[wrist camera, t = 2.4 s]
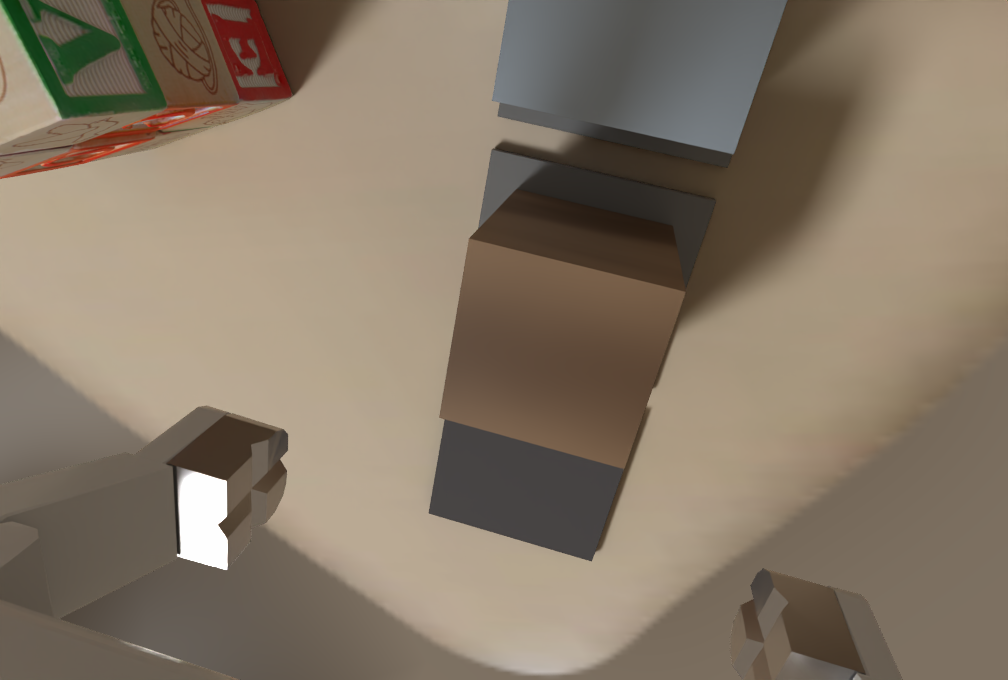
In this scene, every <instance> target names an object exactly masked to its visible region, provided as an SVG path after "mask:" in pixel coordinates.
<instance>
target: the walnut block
mask: <svg viewBox="0 0 1008 680" xmlns="http://www.w3.org/2000/svg"><path fill="white" fill-rule="evenodd" d="M685 293H686V289H685V284H684V279H683V274H682V269H681V264H680V259H679V254H678V249H677V244H676V239H675V234H674V229H673V226H672V225H667V224H663V223H659V222H655V221H651V220H646V219H642V218H638V217H634V216H629V215H625V214H621V213H617V212H612V211H608V210H604V209H600V208H595V207H591V206H587V205H583V204H578V203H574V202H570V201H566V200H561V199H557V198H553V197H549V196H545V195H540V194H536V193H532V192H528V191H523V190H519V189H516V190H515V191H514V192H513V193H512V194H511V195H510V196H509V197H508V198H507V199H506V200H505V201H504V202H503V204H502V205H501V206H500V207H499V208H498V209H497V210H496V211H495V212H494V213H493V214H492V215H491V216H490V217H489V218H488V219H487V220H486V221H485V222H484V223H483V225H482V226H481V227H480V228H479V229H478V230H477V231H476V232H475V233H474V234H473V235H472V236H471V237H470V238H469V242H468V248H467V254H466V260H465V266H464V272H463V278H462V284H461V290H460V296H459V302H458V308H457V314H456V320H455V326H454V332H453V338H452V344H451V350H450V356H449V362H448V368H447V374H446V380H445V386H444V392H443V398H442V404H441V410H440V416H439V418H442V419H446V420H449V421H453V422H456V423H460V424H464V425H467V426H471V427H474V428H478V429H482V430H485V431H489V432H492V433H496V434H500V435H503V436H507V437H510V438H514V439H518V440H521V441H525V442H528V443H532V444H536V445H539V446H543V447H546V448H550V449H554V450H557V451H561V452H564V453H568V454H572V455H575V456H579V457H582V458H586V459H590V460H593V461H597V462H600V463H604V464H608V465H611V466H615V467H618V468H622V469H625V466H626V463H627V460H628V457H629V455H630V452H631V449H632V446H633V443H634V440H635V437H636V434H637V432H638V429H639V426H640V423H641V420H642V417H643V414H644V411H645V409H646V406H647V403H648V400H649V397H650V394H651V391H652V388H653V385H654V383H655V380H656V377H657V374H658V371H659V368H660V365H661V362H662V360H663V357H664V354H665V351H666V348H667V345H668V342H669V339H670V337H671V334H672V331H673V328H674V325H675V322H676V319H677V316H678V314H679V311H680V308H681V305H682V302H683V299H684V296H685Z"/></svg>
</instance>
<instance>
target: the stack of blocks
mask: <svg viewBox="0 0 1008 680" xmlns="http://www.w3.org/2000/svg"><path fill="white" fill-rule="evenodd" d="M292 96H293V95H292V92H291V89H290V86H289V84H288V82H287V79H286V77H285V75H284V72H283V69H282V67H281V64H280V62H279V59H278V57H277V55H276V52H275V50H274V47H273V44H272V42H271V39H270V37H269V35H268V32H267V29H266V27H265V24H264V21H263V19H262V17H261V15H260V12H259V9H258V6H257V3H256V2H255V1H254V0H0V179H2V178H8V177H14V176H20V175H26V174H31V173H37V172H42V171H48V170H53V169H58V168H64V167H69V166H74V165H79V164H84V163H87V162H91V161H96V160H101V159H106V158H111V157H116V156H121V155H126V154H131V153H136V152H141V151H146V150H151V149H155V148H157V147H160V146H163V145H166V144H168V143H171V142H174V141H177V140H179V139H182V138H185V137H188V136H191V135H193V134H196V133H199V132H202V131H204V130H207V129H210V128H213V127H215V126H218V125H222V124H226V123H229V122H232V121H235V120H238V119H240V118H243V117H246V116H249V115H252V114H254V113H257V112H260V111H262V110H265V109H268V108H270V107H273V106H275V105H277V104H280V103H282V102H284V101H286V100H288V99H290V98H291V97H292Z"/></svg>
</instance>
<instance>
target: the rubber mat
mask: <svg viewBox="0 0 1008 680" xmlns="http://www.w3.org/2000/svg"><path fill="white" fill-rule="evenodd" d="M623 470H624V469H622V468H618V467H615V466H611V465H608V464H604V463H600V462H597V461H593V460H590V459H586V458H582V457H579V456H575V455H572V454H568V453H564V452H561V451H557V450H554V449H550V448H546V447H543V446H539V445H536V444H532V443H528V442H525V441H521V440H518V439H514V438H510V437H507V436H503V435H500V434H496V433H492V432H489V431H485V430H482V429H478V428H474V427H471V426H467V425H464V424H460V423H456V422H453V421H449V420H446V419H445V421H444V427H443V433H442V439H441V445H440V450H439V456H438V462H437V468H436V474H435V479H434V485H433V491H432V497H431V503H430V509H429V514H433V515H436V516H439V517H443V518H446V519H450V520H453V521H456V522H460V523H463V524H467V525H470V526H473V527H477V528H480V529H484V530H487V531H490V532H494V533H497V534H501V535H504V536H507V537H511V538H514V539H518V540H521V541H524V542H528V543H531V544H534V545H538V546H541V547H545V548H548V549H551V550H555V551H558V552H562V553H565V554H568V555H572V556H575V557H579V558H582V559H585V560H589V561H592V559H593V556H594V554H595V551H596V548H597V545H598V542H599V539H600V536H601V533H602V531H603V528H604V525H605V522H606V519H607V516H608V513H609V510H610V507H611V505H612V502H613V499H614V496H615V493H616V490H617V487H618V484H619V482H620V479H621V476H622V473H623Z"/></svg>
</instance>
